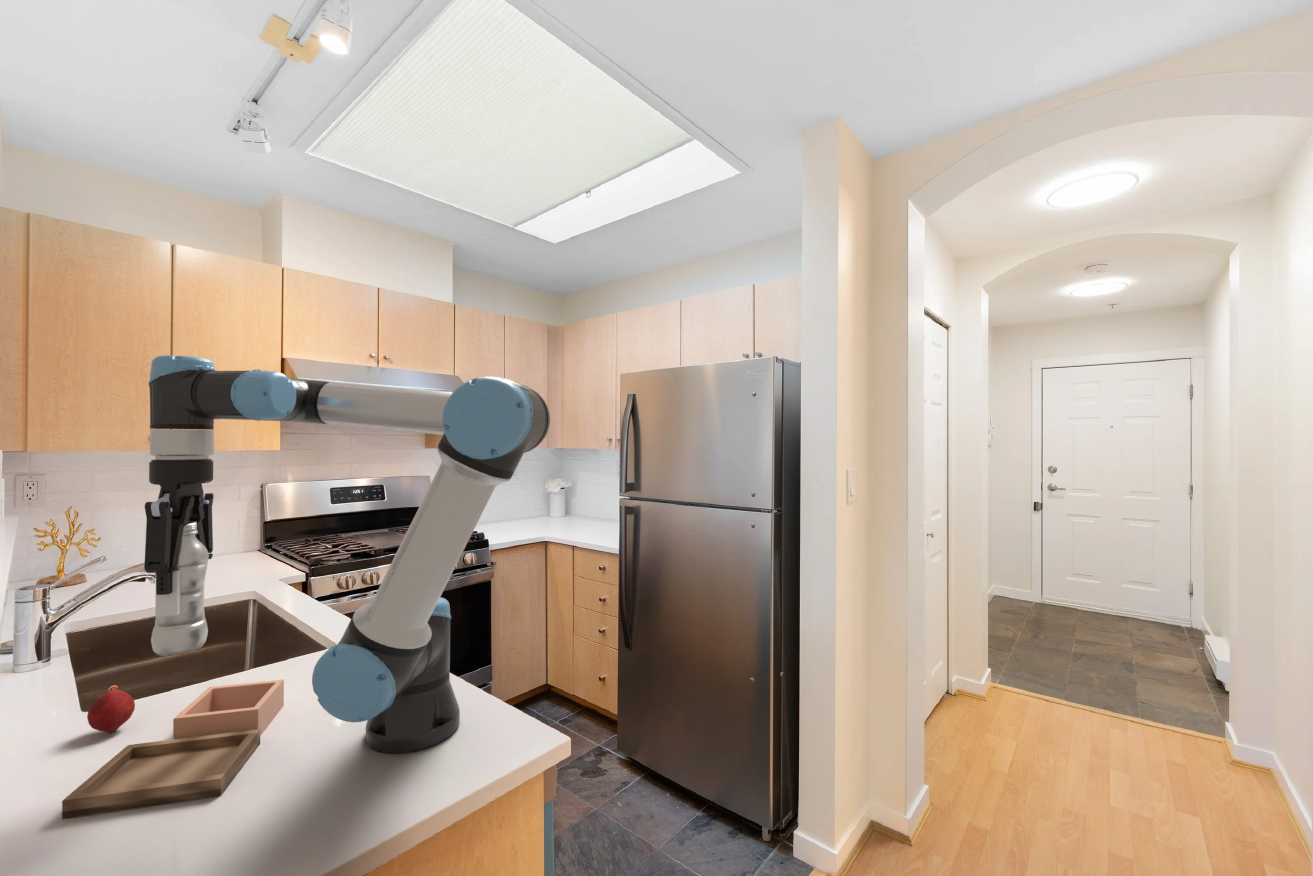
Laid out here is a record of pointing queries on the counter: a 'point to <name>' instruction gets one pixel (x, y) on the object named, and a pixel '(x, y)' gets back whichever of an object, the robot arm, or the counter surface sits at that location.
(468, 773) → the counter surface
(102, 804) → the tray
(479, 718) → the counter surface
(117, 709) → the onion
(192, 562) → the plastic bottle
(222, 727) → the wooden box frame
